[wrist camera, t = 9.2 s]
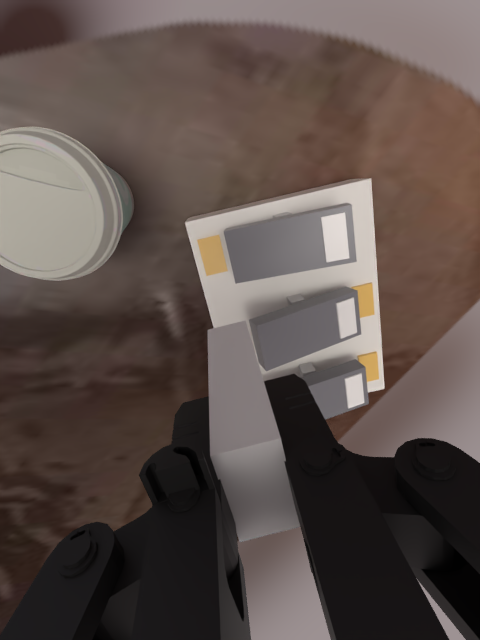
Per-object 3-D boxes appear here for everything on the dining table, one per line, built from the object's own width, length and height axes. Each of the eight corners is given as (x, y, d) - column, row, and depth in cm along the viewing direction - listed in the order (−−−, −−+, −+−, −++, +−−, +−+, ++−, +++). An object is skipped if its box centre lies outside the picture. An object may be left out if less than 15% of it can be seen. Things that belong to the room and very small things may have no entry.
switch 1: (237, 277, 28) (235, 284, 26) (226, 227, 26) (223, 231, 24) (352, 256, 26) (357, 262, 24) (347, 202, 24) (352, 204, 23)
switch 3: (271, 425, 31) (278, 437, 30) (263, 389, 30) (269, 400, 28) (359, 394, 33) (369, 404, 31) (355, 358, 31) (366, 367, 30)
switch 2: (258, 363, 28) (266, 372, 27) (248, 319, 27) (257, 326, 25) (349, 328, 30) (362, 334, 29) (345, 286, 29) (358, 290, 27)
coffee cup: (170, 203, 30) (146, 214, 19) (107, 269, 32) (51, 316, 20) (90, 121, 27) (6, 77, 16) (26, 199, 29) (-90, 208, 18)
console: (236, 398, 38) (240, 433, 33) (187, 217, 30) (183, 224, 25) (367, 368, 38) (392, 397, 33) (351, 179, 30) (380, 178, 25)
